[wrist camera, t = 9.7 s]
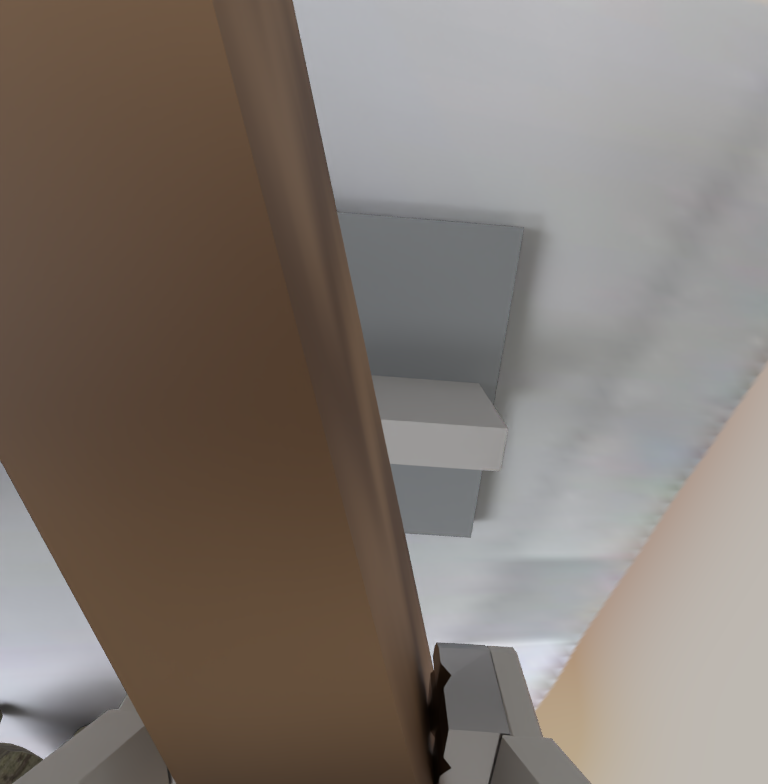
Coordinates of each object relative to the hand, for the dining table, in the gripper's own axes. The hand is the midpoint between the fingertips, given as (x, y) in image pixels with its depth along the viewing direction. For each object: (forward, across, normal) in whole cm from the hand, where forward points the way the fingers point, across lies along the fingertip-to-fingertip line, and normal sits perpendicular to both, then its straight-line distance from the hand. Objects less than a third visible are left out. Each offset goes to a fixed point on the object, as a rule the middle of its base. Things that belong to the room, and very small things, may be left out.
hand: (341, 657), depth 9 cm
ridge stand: (+18, 0, 0) cm, 18 cm away
